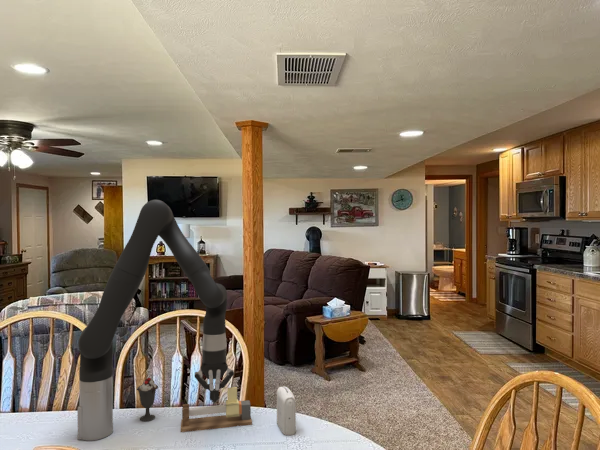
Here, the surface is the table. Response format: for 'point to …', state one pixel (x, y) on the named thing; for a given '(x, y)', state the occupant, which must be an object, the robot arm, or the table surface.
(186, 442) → the table surface
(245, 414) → the sliding door bolt
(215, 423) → the wooden bracket
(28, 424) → the table surface
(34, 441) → the table surface
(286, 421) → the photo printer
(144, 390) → the sundae
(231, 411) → the marker sleeve
